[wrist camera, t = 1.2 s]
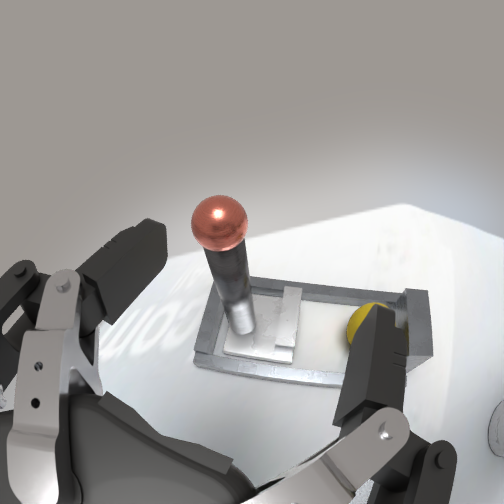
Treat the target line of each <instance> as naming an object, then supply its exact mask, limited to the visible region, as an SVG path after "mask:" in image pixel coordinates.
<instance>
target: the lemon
mask: <svg viewBox="0 0 504 504" xmlns="http://www.w3.org/2000/svg"><path fill="white" fill-rule="evenodd" d="M374 304H379V305H381V306H384V307H387V306H386V305H384V304H381V303H376V302H373V303H368V304H365V305H363V306H361V307H360V308H359V309H357V310H356V311H355V312H354V314H353V315H352V316H351V318H350V320H349V322H348V325H347V339H348V341H349V343H350V345H351V343H352V339H353V337H354V334H355V332H356V330H357V329H358V327H359V326H360V324H361V323H362V321H363V320H364V318H365V317H366V315H367V314H368V312H369V311H370V309H371V308H372V306H373V305H374ZM387 308H388V307H387ZM395 327H396V321H395Z"/></svg>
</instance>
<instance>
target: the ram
mask: <svg viewBox="0 0 504 504" xmlns="http://www.w3.org/2000/svg"><path fill="white" fill-rule="evenodd" d="M247 227H248V220H247V215H246V212H245V210H244V208H243V207H242V206H241V204H240V203H238V202H237V201H236V200H235V199H233V198H231V197H228V196H224V195H216V196H211V197H209V198H206V199H205V200H203V201H202V202H201V203H200V204H199V205H198V206H197V207H196V209H195V211H194V213H193V215H192V220H191V228H192V232H193V235H194V237H195V239H196V240H197V241H198V243H199V244H200V245H202V246H203V248H204V251H205V254H206V257H207V261H208V264H209V267H210V270H211V273H212V276H213V279H214V282H215V285H216V288H217V291H218V294H219V296H220V299H221V302H222V305H223V308H224V311H225V314H226V317H227V319H228V322H229V329H228V333H227V337H226V341H225V345H224V349H223V352H224V353H225V354H229V355H235V356H241V357H246V358H252V359H259V360H265V361H272V362H279V363H287V364H291V362H292V356H293V352H294V347H295V340H296V333H297V326H298V319H299V311H300V303H301V295H302V288H298V287H290V286H285V287H284V294H283V298H277V297H269V296H262V295H254V294H252V290H251V283H250V276H249V268H248V261H247V254H246V246H245V239H244V237H245V234H246V232H247Z"/></svg>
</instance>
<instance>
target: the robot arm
mask: <svg viewBox="0 0 504 504" xmlns="http://www.w3.org/2000/svg"><path fill="white" fill-rule="evenodd" d="M167 257H168V253H167V235H166V226H165V225H164V224H162V223H159V222H156V221H154V220H151V219H148V218H147V219H144V220H143V221H142V222H140V223H139V224H138V225H137V226H136V227H133V226H132V227H130V228H128V229H125V230H123V231H121V232H119V233H118V234H117V235H116V236H115V237H113V238H112V239H111V241H109V242H107V243H106V244H105V245H104V247H101V248H100V249H99V250H98V251H97V252H96V253H94V254H93V255H92V256H91V257H90V258H89V259H88V260H86V262H84V263H83V264H82V265H81V266H80V267H79V268H77V269H76V270H75V271H74V270H70V269H65V270H60V271H58V272H56V273H54V274H53V275H47V274H43V273H39V272H38V271H37V269H36V266H35V264H34V263H33V262H32V261H30V260H22V261H20V262H17V263H16V264H14V265H13V266H12V267H11V268H10V269H9V270H8V271H7V272H6V273H5V274H4V275H3V276H2V277H1V278H0V409H3V408H4V407H5V406H6V399H5V397H4V396H3V392H4V391H5V389H6V388H7V386H8V385H9V384H10V382H11V381H12V379H13V378H14V377H15V375H16V374H17V380H16V389H15V400H14V410H9V411H4V412H0V504H348V503H349V502H351V501H352V499H353V498H354V497H355V495H356V494H355V492H356V490H357V489H358V488H359V487H360V486H362V485H363V484H364V483H365V482H366V481H367V480H369V479H371V480H373V481H374V484H373V487H372V490H371V493H370V496H369V499H368V501H367V504H449V500H450V495H451V491H452V486H453V481H454V476H455V471H456V464H457V454H456V451H455V449H454V447H453V446H452V444H451V443H449V442H447V441H445V440H440V441H436V442H434V443H432V444H430V443H429V442H427V441H425V440H424V439H422V438H420V437H419V436H417V435H416V434H414V433H413V432H412V431H411V430H410V427H409V423H408V420H407V418H406V417H405V415H404V414H403V402H404V392H405V379H406V369H405V368H406V362H407V359H406V356H407V341H406V338H405V335H404V332H403V330H402V329H400V328H397V327H395V317H396V314H395V311H394V310H392V309H390V308H387V307H384V306H381V305H379V304H374V305H373V306H372V308H371V309H370V311H369V312H368V314H367V315H366V317H365V318H364V320H363V321H362V323H361V324H360V326H359V327H358V329H357V330H356V332H355V334H354V337H353V339H352V343H351V347H350V352H349V357H348V362H347V367H346V371H345V376H344V380H343V385H342V389H341V393H340V397H339V401H338V405H337V409H336V413H335V416H334V420H333V424H332V425H334V426H338V427H341V431H340V435H339V437H337V438H336V439H334V440H333V441H332V442H330V443H329V444H328V445H326V446H325V447H323V448H322V449H320V450H319V451H318V452H316V453H315V454H313V455H312V456H310V457H309V458H307V459H305V460H304V461H302V462H301V463H299V464H298V465H296V466H294V467H293V468H291V469H289V470H287V471H285V472H283V473H282V474H280V475H278V476H276V477H274V478H272V479H271V480H269V481H267V482H265V483H263V484H261V485H260V486H258V487H256V488H255V487H254V486H253V484H252V483H251V481H250V480H249V479H248V478H247V476H246V475H245V474H244V473H243V472H242V471H240V470H239V469H238V468H237V467H235V466H234V465H233V464H231V463H232V461H233V459H232V458H229V457H227V456H224V455H222V454H219V453H217V452H215V451H213V450H210V449H208V448H206V447H204V446H201V445H199V444H195V443H191V442H186V441H182V440H178V439H174V438H170V437H166V436H163V435H161V434H159V433H158V432H157V431H156V430H155V429H153V428H152V427H151V426H150V425H149V424H148V423H147V422H146V421H145V420H144V419H143V418H142V417H141V416H140V415H139V414H138V413H137V412H136V411H135V410H134V409H133V408H131V407H130V406H128V405H127V404H125V403H124V402H122V401H121V400H119V399H118V398H116V397H115V396H113V395H112V394H110V393H109V392H107V391H106V393H105V394H104V395H103V389H102V384H101V380H100V377H99V372H98V350H99V323H100V322H101V321H102V320H104V321H106V322H107V323H109V324H110V325H113V324H114V323H115V322H116V321H117V319H118V318H119V317H120V316H121V315H122V314H123V312H124V311H125V310H126V309H127V308H128V307H129V306H130V305H131V303H132V302H133V301H134V300H135V299H136V298H137V297H138V296H139V294H140V293H141V292H142V291H143V290H144V289H145V288H146V287H147V286H148V285H149V283H150V282H151V281H152V280H153V279H154V278H155V277H156V276H157V275H158V274H159V273H160V271H161V270H162V269H163V268H164V266H165V264H166V261H167ZM19 305H21V307H22V309H23V310H24V313H23V315H22V316H21V317H20V318H19V319H18V320H17V321H16V323H15V324H14V325H13V326H12V327H11V329H10V330H9V331H8V332H7V333H6V334H5V335H3V334H2V326H3V324H4V322H5V321H6V320H7V319H8V318H9V317H10V315H11V314H12V313H13V312H14V311H15V310H16V309H17V307H18V306H19ZM489 444H490V447H491V449H492V451H493V453H495V454H496V455H497V456H504V400H503V401H502V402H501V403H500V404H499V405H498V407H497V408H496V410H495V411H494V413H493V416H492V418H491V422H490V426H489Z"/></svg>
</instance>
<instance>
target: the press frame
mask: <svg viewBox="0 0 504 504" xmlns="http://www.w3.org/2000/svg"><path fill="white" fill-rule="evenodd" d="M250 283H251V290H252V293H253V294H260V295H268V296H275V297H283V294H284V287H285V286H290V287H298V288H302V295H301V300H308V301H316V302H325V303H334V304H344V305H354V306H363V305H365V304H368V303H373V302H376V303H381V304H384V305H386V306H387V307H388V308H390V309H392V310H394V311H395V314H396V317H395V321H396V327H397V328H400V329H402V330H403V332H404V335H405V338H406V341H407V356H406V359H407V362H406V368H405V369H406V373H408V372H409V371H411V370H412V369H414V368H416V367H417V366H419V365H420V364H422V363H423V362H425V361H426V360H428V359H429V358H431V357H432V356H433V341H432V326H431V315H430V306H429V297H428V290H418V289H408V288H406V289H405V290H404V292H403V293H393V292H383V291H373V290H363V289H354V288H344V287H335V286H326V285H318V284H309V283H300V282H292V281H284V280H276V279H268V278H260V277H252V276H250ZM223 312H224V308H223V305H222V302H221V299H220V296H219V294H218V291H217V288H216V285H215V282H213V285H212V288H211V292H210V295H209V298H208V302H207V305H206V308H205V312H204V315H203V319H202V322H201V325H200V329H199V332H198V336H197V339H196V343H195V346H194V351H195V352H196V353H195V357H194V360H193V363H194V364H195V365H196V366H197V367H201V368H205V369H210V370H214V371H219V372H224V373H229V374H235V375H240V376H246V377H251V378H257V379H264V380H270V381H277V382H285V383H292V384H301V385H310V386H320V387H332V388H342V385H343V380H344V376H345V373H335V372H324V371H314V370H304V369H296V368H288V367H280V366H273V365H266V364H260V363H254V362H248V361H242V360H236V359H231V358H225V357H220V356H215V355H213V351H214V347H215V343H216V339H217V335H218V331H219V328H220V324H221V320H222V316H223ZM406 381H407V376H406V379H405V387H406Z"/></svg>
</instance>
